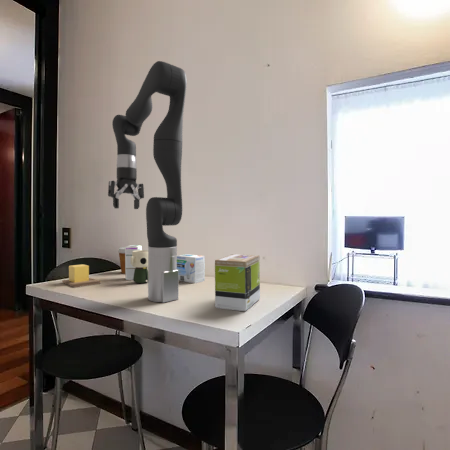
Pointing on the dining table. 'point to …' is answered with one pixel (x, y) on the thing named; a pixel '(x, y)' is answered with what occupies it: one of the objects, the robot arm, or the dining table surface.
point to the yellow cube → (78, 273)
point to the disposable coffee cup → (122, 259)
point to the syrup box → (128, 267)
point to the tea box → (237, 281)
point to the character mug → (140, 265)
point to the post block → (83, 283)
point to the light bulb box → (191, 268)
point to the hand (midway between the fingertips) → (126, 208)
